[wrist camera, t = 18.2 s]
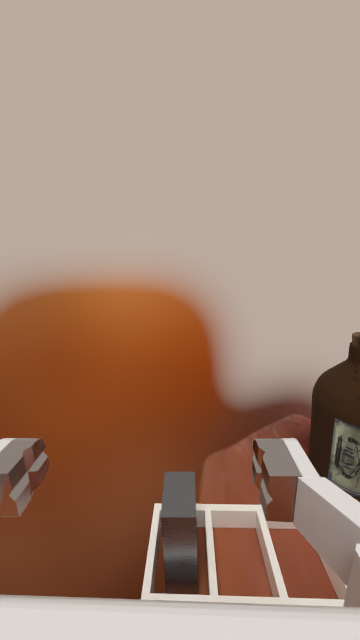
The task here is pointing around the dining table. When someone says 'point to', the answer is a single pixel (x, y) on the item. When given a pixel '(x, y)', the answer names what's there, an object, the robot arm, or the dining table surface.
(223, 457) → the dining table surface
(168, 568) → the dark grey metallic block
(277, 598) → the rack
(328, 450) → the olive oil
